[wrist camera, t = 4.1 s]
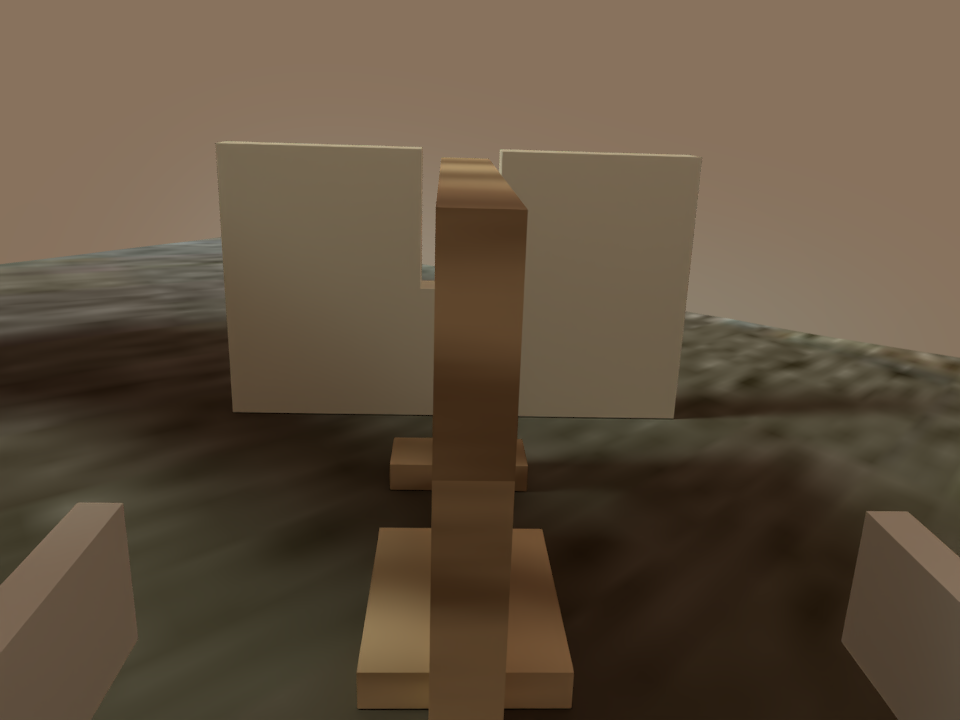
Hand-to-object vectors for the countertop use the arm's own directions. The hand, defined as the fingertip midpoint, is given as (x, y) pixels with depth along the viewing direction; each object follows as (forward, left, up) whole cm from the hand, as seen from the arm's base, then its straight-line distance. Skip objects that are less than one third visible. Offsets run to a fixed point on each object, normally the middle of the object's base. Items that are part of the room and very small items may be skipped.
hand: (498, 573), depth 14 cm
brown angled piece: (-11, +8, -8) cm, 16 cm away
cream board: (-24, +18, -8) cm, 31 cm away
